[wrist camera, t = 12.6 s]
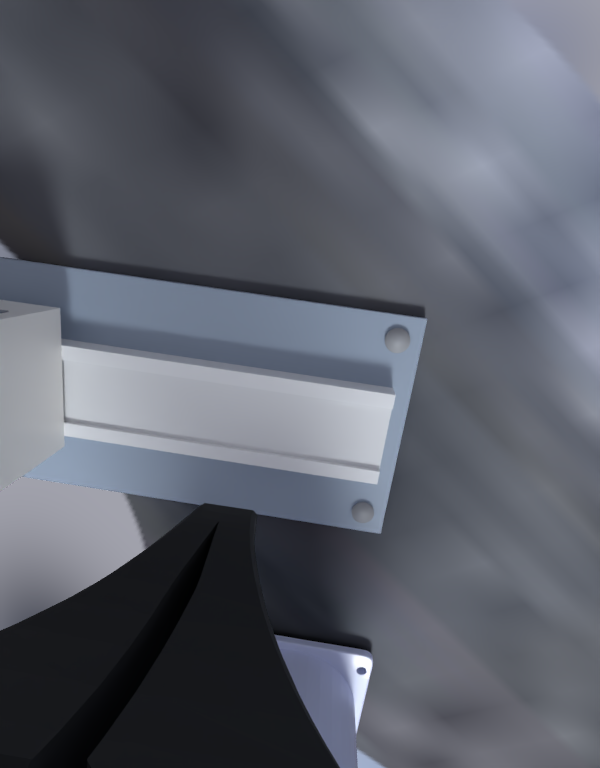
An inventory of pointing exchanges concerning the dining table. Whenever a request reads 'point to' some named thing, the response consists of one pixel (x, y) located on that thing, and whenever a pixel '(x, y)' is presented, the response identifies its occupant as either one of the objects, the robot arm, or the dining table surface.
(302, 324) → the rail panel
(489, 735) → the dining table surface
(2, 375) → the module
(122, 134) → the dining table surface
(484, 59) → the dining table surface
